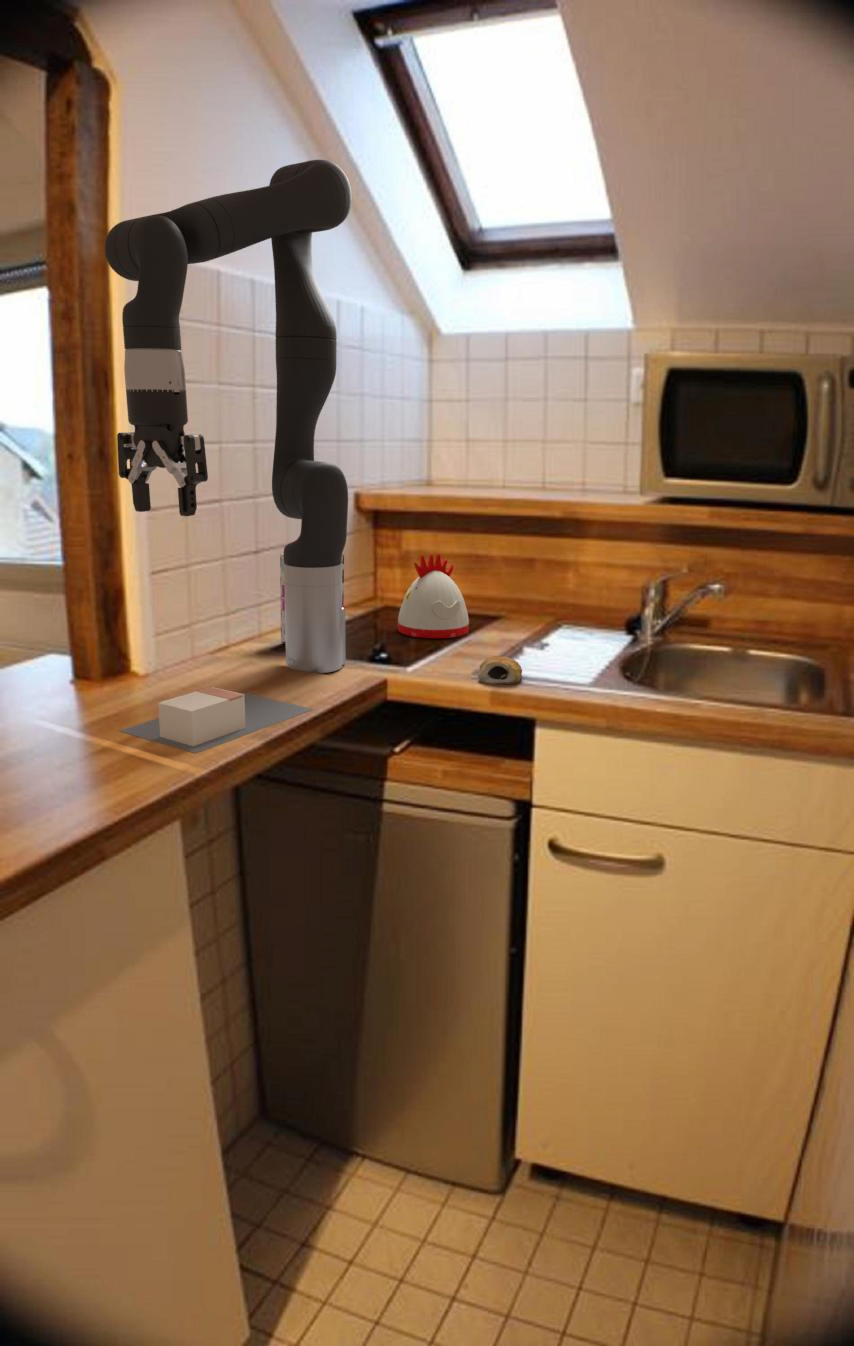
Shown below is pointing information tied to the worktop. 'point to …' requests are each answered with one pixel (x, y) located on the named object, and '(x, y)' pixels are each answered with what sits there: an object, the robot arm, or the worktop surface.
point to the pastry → (500, 670)
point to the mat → (256, 717)
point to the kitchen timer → (433, 603)
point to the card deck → (201, 715)
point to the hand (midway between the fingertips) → (165, 513)
